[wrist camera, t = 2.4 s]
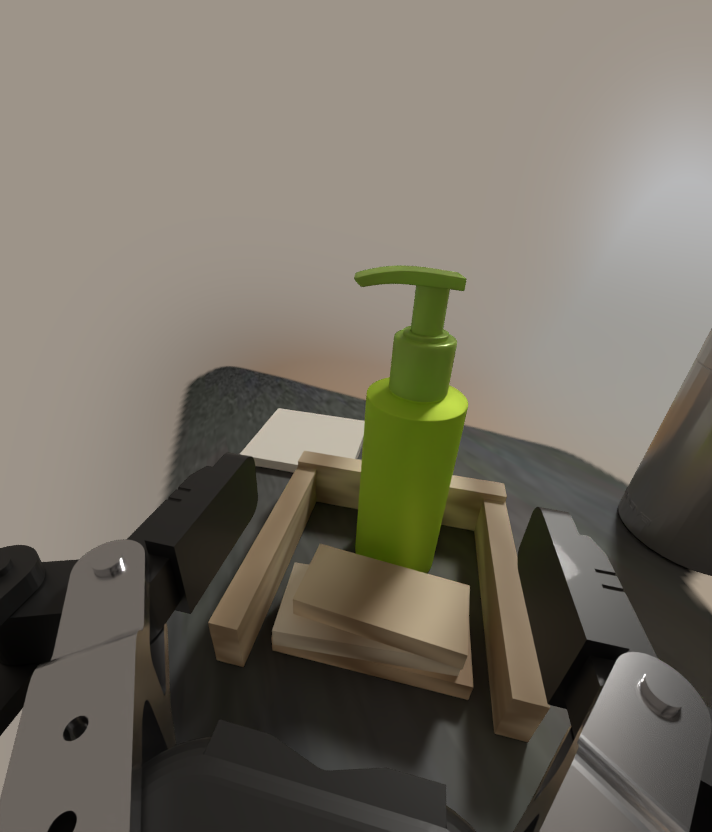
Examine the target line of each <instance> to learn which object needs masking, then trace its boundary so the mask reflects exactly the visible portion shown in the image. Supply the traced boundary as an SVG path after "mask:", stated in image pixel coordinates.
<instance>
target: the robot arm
mask: <svg viewBox="0 0 712 832" xmlns="http://www.w3.org/2000/svg"><path fill="white" fill-rule="evenodd" d="M257 501H258V493H257V481H256V469H255V461H254V458H253V457H252V456H247V455H241V454H235V453H230V452H228V453H225V454H224V455H223V456H222V457H221V458H220V459H219V460H218V462H217V463H216V464H215V465H214V466H213V467H211V466H206V467H204V468H202V469H200V470H199V471H197V472H195V473H193V474H191V475H190V476H189V477H188V478H187V479H186V480H185V481H184V482H183V483H182V484H181V485H180V486H179V487H178V490H175V491H174V492H173V493H172V494H171V495H170V496H169V498H168V500H165V501H164V502H163V503H162V504H161V505H160V506H159V507H158V508H157V509H156V510H155V511H154V512H153V513H152V514H151V515H150V516H149V517H148V518H147V519H146V520H145V522H143V523H142V524H141V525H140V527H138V529H136V531H135V532H134V533H133V534H132V535H131V536H130V537H129V538H128V539H126V540H124V539H123V540H116V541H111V542H107V543H105V544H102V545H100V546H98V547H96V548H94V549H92V550H91V551H89V552H87V554H85V555H84V556H82V557H81V558H80V559H79V560H66V561H52V562H41V560H40V558H39V556H38V554H37V552H36V551H35V549H34V548H31V547H29V546H25V545H14V546H7V547H3V548H0V736H1V734H2V733H3V732H4V731H5V729H6V728H7V727H8V726H9V724H10V723H11V722H12V721H13V719H14V718H15V717H16V716H17V714H18V713H19V712H20V711H21V709H22V708H23V710H22V715H21V718H20V723H19V726H18V730H17V734H16V738H15V743H14V746H13V750H12V754H11V758H10V762H9V766H8V770H7V774H6V778H5V783H4V787H3V790H2V794H1V798H0V832H476V831H475V830H474V829H473V827H472V826H471V825H470V824H469V823H468V822H466V821H465V820H464V819H463V818H462V817H461V816H460V815H458V814H457V813H456V812H455V811H453V810H452V809H451V808H449V807H448V806H446V785H445V784H441V783H438V782H434V781H431V780H427V779H424V778H421V777H417V776H414V775H410V774H407V773H403V772H400V771H396V770H393V769H389V768H369V769H351V770H333V771H327V770H322V769H320V768H318V767H317V766H315V765H314V764H312V763H311V762H309V761H308V760H307V759H305V758H304V757H302V756H301V755H300V754H298V753H297V752H295V751H294V750H293V749H291V748H290V747H288V746H287V745H286V744H284V743H283V742H281V741H280V740H279V739H277V738H276V737H274V736H273V735H272V734H269V733H265V732H262V731H258V730H255V729H251V728H248V727H245V726H241V725H238V724H234V723H231V722H227V721H224V720H220V719H219V721H218V723H217V725H216V728H215V730H214V732H213V734H212V737H204V738H199V739H195V740H190V741H187V742H185V743H182V744H179V745H176V739H175V730H174V723H173V718H172V712H171V703H170V682H169V656H168V631H167V623H166V622H167V620H168V619H169V618H170V616H171V615H172V613H173V612H174V610H176V611H181V612H185V613H189V614H191V613H192V611H193V609H194V608H195V606H196V605H197V603H198V602H199V600H200V598H201V597H202V595H203V594H204V592H205V591H206V589H207V587H208V586H209V584H210V583H211V581H212V580H213V578H214V576H215V575H216V573H217V572H218V570H219V569H220V567H221V565H222V564H223V562H224V561H225V559H226V558H227V556H228V555H229V553H230V551H231V550H232V548H233V547H234V545H235V544H236V542H237V540H238V539H239V537H240V536H241V534H242V533H243V531H244V529H245V528H246V526H247V525H248V523H249V522H250V520H251V518H252V517H253V515H254V513H255V510H256V506H257ZM618 510H619V515H620V517H621V519H622V521H623V523H624V524H625V525H626V527H627V528H628V529H629V530H630V531H631V532H632V533H633V534H634V535H635V536H636V537H637V538H638V539H639V540H640V541H642V542H643V543H644V544H645V545H647V546H648V547H649V548H651V549H652V550H654V551H655V552H657V553H659V554H660V555H662V556H663V557H665V558H667V559H669V560H671V561H673V562H675V563H677V564H679V565H681V566H684V567H686V568H689V569H691V570H693V571H697V572H700V573H703V574H707V575H710V576H712V329H711V331H710V333H709V335H708V337H707V339H706V340H705V342H704V344H703V346H702V348H701V350H700V352H699V354H698V356H697V358H696V360H695V361H694V363H693V366H692V367H691V369H690V371H689V373H688V375H687V377H686V378H685V380H684V382H683V384H682V386H681V388H680V390H679V392H678V394H677V395H676V397H675V400H674V401H673V403H672V405H671V407H670V409H669V411H668V413H667V414H666V416H665V418H664V420H663V422H662V424H661V426H660V428H659V429H658V431H657V433H656V435H655V437H654V439H653V441H652V443H651V444H650V446H649V448H648V451H647V452H646V454H645V456H644V458H643V460H642V461H641V463H640V465H639V467H638V469H637V471H636V473H635V475H634V477H633V478H632V480H631V482H630V484H629V486H628V487H627V489H626V491H625V493H624V495H623V497H622V499H621V501H620V503H619V506H618ZM517 565H518V573H519V577H520V582H521V586H522V591H523V596H524V600H525V605H526V609H527V614H528V618H529V623H530V627H531V632H532V636H533V641H534V645H535V650H536V654H537V659H538V663H539V668H540V672H541V677H542V681H543V686H544V690H545V695H546V699H547V704H548V705H552V706H556V707H560V708H565V709H567V711H568V715H569V719H570V723H571V726H570V727H569V729H568V730H567V732H566V734H565V736H564V738H563V740H562V742H561V743H560V745H559V747H558V749H557V751H556V753H555V755H554V757H553V759H552V761H551V763H550V765H549V767H548V769H547V771H546V772H545V774H544V776H543V778H542V780H541V782H540V784H539V786H538V788H537V790H536V792H535V794H534V796H533V798H532V800H531V801H530V803H529V805H528V807H527V809H526V811H525V812H524V814H523V816H522V818H521V819H520V821H519V822H518V824H517V826H516V827H515V829H514V831H513V832H712V709H711V708H709V707H707V706H706V705H705V703H704V701H703V699H702V698H701V696H700V695H699V693H698V692H697V691H696V690H695V688H694V687H693V686H692V685H691V684H690V683H689V682H688V681H687V680H686V679H685V678H684V677H683V676H682V675H681V674H680V673H679V672H677V671H676V670H675V669H673V668H672V667H671V666H669V665H668V664H666V663H664V662H663V661H661V660H659V659H658V657H657V655H656V653H655V651H654V649H653V647H652V645H651V643H650V641H649V639H648V637H647V635H646V633H645V631H644V629H643V627H642V625H641V623H640V621H639V619H638V617H637V615H636V613H635V611H634V609H633V607H632V605H631V603H630V601H629V599H628V597H627V595H626V593H624V592H623V587H622V585H621V583H620V581H619V579H618V577H617V576H615V571H614V569H613V567H612V565H611V563H610V561H609V559H608V557H607V555H606V553H605V552H604V551H603V550H602V549H601V548H600V547H599V546H598V545H597V544H596V543H595V542H594V541H593V540H592V539H591V538H590V537H589V536H585V535H580V534H579V533H578V530H577V528H576V526H575V524H574V521H573V519H572V517H571V515H570V514H569V513H568V512H563V511H558V510H552V509H546V508H540V507H537V508H535V509H534V511H533V513H532V516H531V518H530V521H529V523H528V526H527V529H526V531H525V534H524V536H523V539H522V542H521V544H520V547H519V551H518V559H517Z"/></svg>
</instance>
